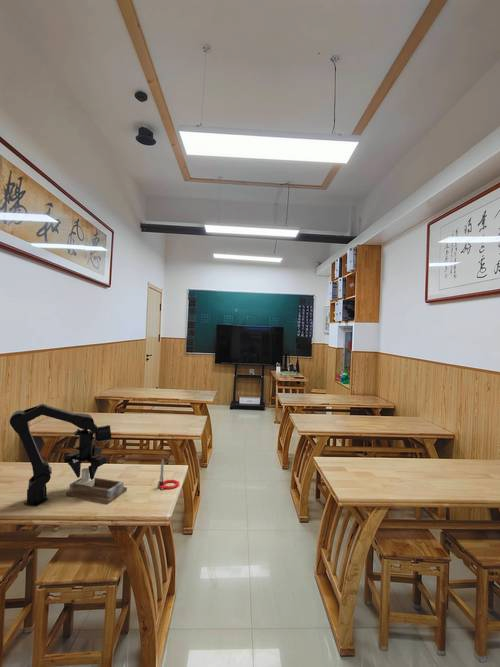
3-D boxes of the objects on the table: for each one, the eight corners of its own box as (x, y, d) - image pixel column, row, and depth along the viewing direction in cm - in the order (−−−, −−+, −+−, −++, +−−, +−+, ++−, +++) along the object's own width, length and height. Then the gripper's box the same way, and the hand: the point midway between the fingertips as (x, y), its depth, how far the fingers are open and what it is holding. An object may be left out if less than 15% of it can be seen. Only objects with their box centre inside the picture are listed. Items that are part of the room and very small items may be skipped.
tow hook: (176, 481, 160) (157, 483, 156) (178, 454, 160) (159, 456, 156) (181, 488, 152) (160, 491, 148) (183, 460, 152) (162, 462, 148)
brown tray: (108, 503, 136) (108, 493, 136) (65, 496, 142) (65, 485, 142) (126, 490, 148) (126, 480, 148) (86, 484, 154) (86, 474, 154)
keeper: (84, 491, 143) (85, 472, 143) (75, 489, 144) (75, 471, 144) (94, 485, 149) (94, 467, 149) (85, 483, 150) (85, 466, 150)
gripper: (115, 440, 152) (114, 473, 152) (82, 436, 157) (81, 468, 157) (98, 448, 141) (97, 484, 141) (63, 443, 146) (62, 478, 146)
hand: (85, 478), depth 147 cm, fingers open, 7 cm apart
